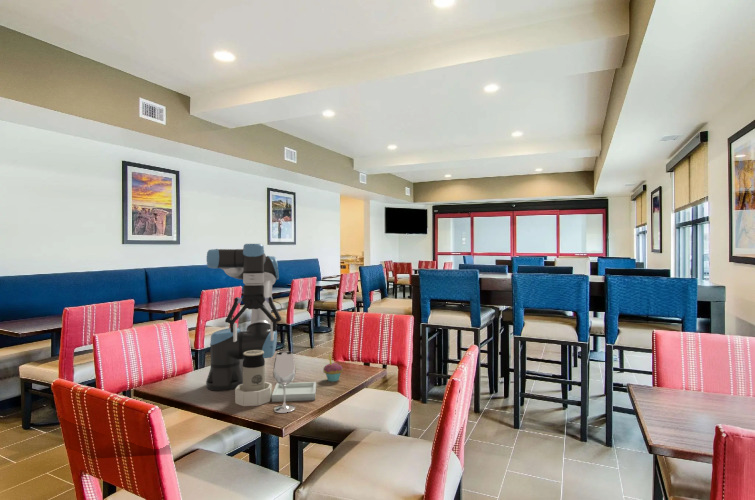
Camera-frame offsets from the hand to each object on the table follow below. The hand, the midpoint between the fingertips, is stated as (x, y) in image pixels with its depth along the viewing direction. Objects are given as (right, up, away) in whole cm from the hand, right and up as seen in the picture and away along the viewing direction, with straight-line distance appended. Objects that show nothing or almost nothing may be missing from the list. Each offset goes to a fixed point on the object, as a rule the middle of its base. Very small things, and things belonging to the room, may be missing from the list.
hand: (253, 340), depth 157 cm
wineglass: (+14, -23, -9) cm, 28 cm away
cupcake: (+27, -23, +24) cm, 43 cm away
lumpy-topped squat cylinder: (-17, -23, +43) cm, 52 cm away
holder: (0, -22, 0) cm, 22 cm away
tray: (+14, -22, +6) cm, 27 cm away
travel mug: (0, -23, 0) cm, 23 cm away
